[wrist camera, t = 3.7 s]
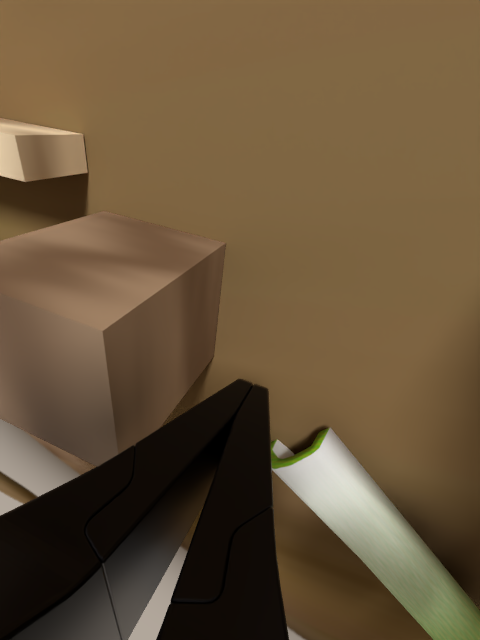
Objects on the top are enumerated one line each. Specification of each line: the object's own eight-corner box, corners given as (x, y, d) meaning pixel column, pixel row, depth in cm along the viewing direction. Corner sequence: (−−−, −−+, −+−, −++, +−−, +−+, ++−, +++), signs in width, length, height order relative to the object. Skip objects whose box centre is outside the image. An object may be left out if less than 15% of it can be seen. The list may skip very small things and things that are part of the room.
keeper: (226, 242, 11) (102, 331, 6) (214, 355, 14) (121, 478, 9) (105, 210, 12) (-79, 263, 7) (115, 320, 15) (-14, 412, 10)
